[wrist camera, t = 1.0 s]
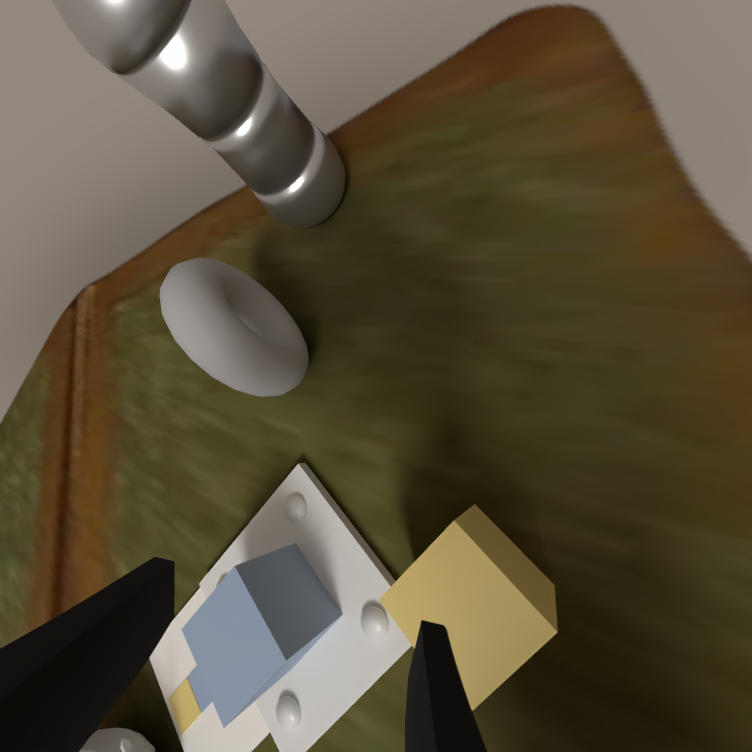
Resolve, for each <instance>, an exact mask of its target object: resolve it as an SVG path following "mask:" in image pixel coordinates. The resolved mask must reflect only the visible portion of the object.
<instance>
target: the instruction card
mask: <svg viewBox="0 0 752 752" xmlns="http://www.w3.org/2000/svg"><path fill="white" fill-rule="evenodd" d="M205 600H206V597H205V595H204V593H203V591H202V589H201V587H200V588H199V589H198V591H197V592H196V593H195V594H194V595H193V597H192V598H191V599H190V600H189V601H188V603H187V604H186V605H185V606H184V608H183V609H182V610H181V611H180V612H179V614H178V615H177V616H176V617H175V618H174V620H173V621H172V622H171V623H170V625H169V627H168V628H167V630H166V632H165V633H164V635H163V637H162V638H161V640H160V642H159V643H158V645H157V646H156V648H155V650H154V651H153V653H152V654H151V656H150V658H149V659H150V661H151V664H152V667H153V669H154V672H155V675H156V677H157V680H158V683H159V686H160V688H161V691H162V694H163V696H164V699H165V702H166V704H167V707H168V710H169V713H170V715H171V718H172V721H173V723H174V726H175V729H176V731H177V734H178V737H179V740H180V742H181V745H182V748H183V750H184V752H251V751H252V750H253V749H254V748H255V747H256V746H257V745H258V744H259V743H260V742H261V741H262V740H263V739H264V738H265V737H266V736H267V735H268V734H269V733H270V731H269V728H268V726H267V724H266V722H265V720H264V718H263V716H262V714H261V712H260V710H259V708H258V706H257V703H256V701H255V702H253V703H252V704H251V705H250V706H249V707H248V708H247V709H245V710H244V711H243V712H242V713H241V714H240V715H238V716H237V717H236V718H235V719H234V720H233V721H232V722H230V723H229V724H228V725H227V726H226V727H225V728H223V725H222V723H221V721H220V718H219V716H218V714H217V711H216V709H215V707H214V704H213V702H212V699H211V697H210V695H209V692H208V690H207V688H206V685H205V683H204V681H203V678H202V676H201V674H200V671H199V669H198V667H197V664H196V662H195V660H194V657H193V655H192V653H191V650H190V648H189V646H188V643H187V641H186V639H185V636H184V634H183V632H182V628H183V627H184V626H185V624H186V623H187V622H188V621H189V620H190V618H191V617H192V616H193V615H194V614H195V612H196V611H197V610H198V609H199V608H200V606H201V605H202V604H203V603H204V602H205Z"/></svg>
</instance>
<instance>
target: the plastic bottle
mask: <svg viewBox="0 0 752 752" xmlns="http://www.w3.org/2000/svg"><path fill="white" fill-rule="evenodd" d="M52 1H53V3H54V4H55V6H56V8H57V10H58V11H59V13H60V15H61V17H62V18H63V20H64V22H65V24H66V25H67V27H68V28H69V30H70V31H71V32H72V33H73V35H74V36H75V37H76V38H77V40H78V41H79V42H80V43H81V45H82V46H83V47H84V49H85V50H86V51H87V52H88V53H89V54H90V55H91V56H92V57H94V58H95V59H96V60H98V61H99V62H100V63H101V64H103V65H104V66H105V67H106V68H107V69H109V70H110V71H111V72H112V73H114V74H117V75H118V76H119V77H120V78H121V79H122V80H124V81H125V82H127V83H128V84H130V85H131V86H132V87H134V88H135V89H137V90H138V91H139V92H141V93H142V94H143V95H145V96H146V97H148V98H149V99H150V100H152V101H153V102H155V103H156V104H157V105H159V106H160V107H162V108H163V109H164V110H166V111H167V112H169V113H170V114H171V115H173V116H174V117H175V118H176V119H177V120H179V121H180V122H181V123H182V124H184V125H185V126H186V127H187V128H188V129H189V130H191V131H192V132H193V133H194V134H196V135H197V136H198V137H200V138H202V140H203V141H204V142H205V143H206V144H207V145H209V146H210V147H211V148H212V149H213V150H215V151H216V152H217V153H218V154H219V155H220V156H221V157H222V158H223V159H224V160H225V161H226V163H227V164H228V165H229V166H230V167H231V168H232V169H233V170H234V171H235V172H236V173H237V174H238V175H239V176H240V177H241V178H242V179H243V181H244V182H245V183H246V184H247V185H248V186H249V187H250V188H251V189H252V191H253V192H254V194H255V195H256V197H257V198H258V199H259V201H260V202H261V203H262V204H263V205H264V207H265V208H266V209H267V210H268V211H269V212H270V213H271V214H272V215H273V216H274V217H275V218H277V219H278V220H280V221H282V222H284V223H285V224H287V225H289V226H291V227H295V228H308V227H313V226H316V225H318V224H320V223H322V222H323V221H325V220H326V219H327V218H328V217H329V216H330V215H331V214H332V213H333V212H334V211H335V210H336V208H337V207H338V205H339V203H340V202H341V199H342V197H343V194H344V190H345V168H344V165H343V163H342V161H341V158H340V156H339V154H338V152H337V150H336V147H335V146H334V144H333V143H332V142H331V141H330V140H329V139H328V138H327V137H326V136H325V135H324V133H323V132H322V131H321V130H320V129H319V128H318V127H316V126H315V125H314V124H313V123H312V122H311V121H309V120H308V119H307V118H306V116H305V115H304V114H303V113H302V112H301V110H300V109H299V108H298V107H297V106H296V105H295V104H294V102H293V101H292V100H291V99H290V97H289V96H288V95H287V94H286V93H285V92H284V90H283V89H282V88H281V87H280V86H279V84H278V83H277V82H276V81H275V79H274V78H273V76H272V75H271V73H270V72H269V70H268V69H267V67H266V66H265V64H264V63H263V62H262V61H261V60H260V57H259V55H258V53H257V52H256V50H255V49H254V47H253V46H252V44H251V43H250V41H249V40H248V38H247V37H246V35H245V34H244V32H243V31H242V29H241V28H240V26H239V24H238V23H237V21H236V19H235V17H234V16H233V14H232V12H231V10H230V9H229V7H228V5H227V3H226V1H225V0H52Z"/></svg>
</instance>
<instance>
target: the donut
mask: <svg viewBox="0 0 752 752" xmlns="http://www.w3.org/2000/svg"><path fill="white" fill-rule="evenodd" d="M160 301H161V309H162V315H163V317H164V320H165V322H166V324H167V326H168V328H169V329H170V331H171V333H172V335H173V337H174V339H175V341H176V342H177V343H178V344H179V345H180V346H181V348H182V349H183V350H184V351H185V352H186V354H187V355H188V356H189V357H190V358H191V360H193V361H194V362H195V363H196V364H197V365H199V366H200V367H201V368H202V369H203V370H205V371H206V372H207V373H208V374H209V375H211V376H212V377H213V378H215V379H217V380H219V381H220V382H222V383H224V384H226V385H227V386H229V387H231V388H233V389H235V390H238V391H242V392H245V393H248V394H251V395H255V396H279V395H283V394H284V393H286V392H288V391H290V390H291V389H293V388H295V387H296V386H298V385H299V384H300V383H301V382H302V380H303V378H304V375H305V373H306V370H307V367H308V364H309V357H308V350H307V345H306V343H305V340H304V338H303V336H302V333H301V331H300V329H299V328H298V326H297V324H296V323H295V321H294V320H293V318H292V317H291V315H290V314H289V313H288V312H287V310H286V309H285V308H284V307H283V306H282V304H281V303H280V302H279V301H278V300H277V299H276V298H275V297H274V296H273V295H272V294H271V293H270V292H269V291H268V290H266V289H265V288H264V287H263V286H262V285H260V284H259V283H258V282H257V281H256V280H254V279H253V278H251V277H250V276H248V275H247V274H245V273H244V272H242V271H240V270H238V269H236V268H234V267H232V266H230V265H228V264H225V263H223V262H221V261H217V260H212V259H207V258H195V259H192V260H188V261H185V262H181V263H178V264H177V265H175V266H174V267H173V268H171V269H170V271H169V273H168V275H167V276H166V278H165V280H164V282H163V284H162V286H161V287H160Z"/></svg>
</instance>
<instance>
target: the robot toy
mask: <svg viewBox="0 0 752 752" xmlns="http://www.w3.org/2000/svg"><path fill="white" fill-rule="evenodd" d="M79 752H155V748H154V747H153V746H152V745H151V743H150V742H149V741H148V740H147V739H146V738H145V737H144V736H143V735H142V734H140V733H137V732H135V731H132V730H129V729H125V728H109V729H100V730H98V731H96V732H95V733H94V734H92V735H91V736H90V738H89V739H88V740H87V742H86V743H85V744H84V746H83V747H82V748H81V750H80V751H79Z"/></svg>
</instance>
